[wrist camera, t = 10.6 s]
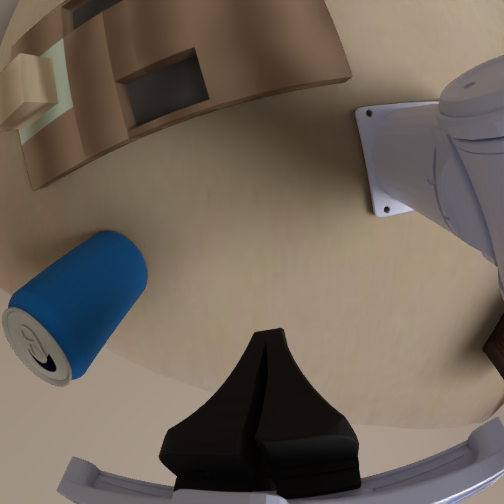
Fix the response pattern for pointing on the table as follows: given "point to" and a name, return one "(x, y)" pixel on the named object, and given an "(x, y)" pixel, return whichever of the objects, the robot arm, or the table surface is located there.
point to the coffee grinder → (496, 347)
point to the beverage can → (75, 307)
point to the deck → (166, 68)
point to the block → (26, 91)
